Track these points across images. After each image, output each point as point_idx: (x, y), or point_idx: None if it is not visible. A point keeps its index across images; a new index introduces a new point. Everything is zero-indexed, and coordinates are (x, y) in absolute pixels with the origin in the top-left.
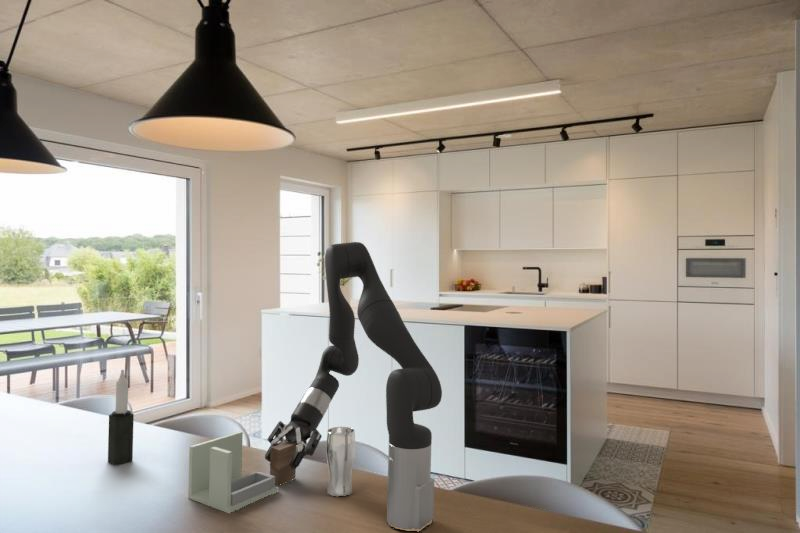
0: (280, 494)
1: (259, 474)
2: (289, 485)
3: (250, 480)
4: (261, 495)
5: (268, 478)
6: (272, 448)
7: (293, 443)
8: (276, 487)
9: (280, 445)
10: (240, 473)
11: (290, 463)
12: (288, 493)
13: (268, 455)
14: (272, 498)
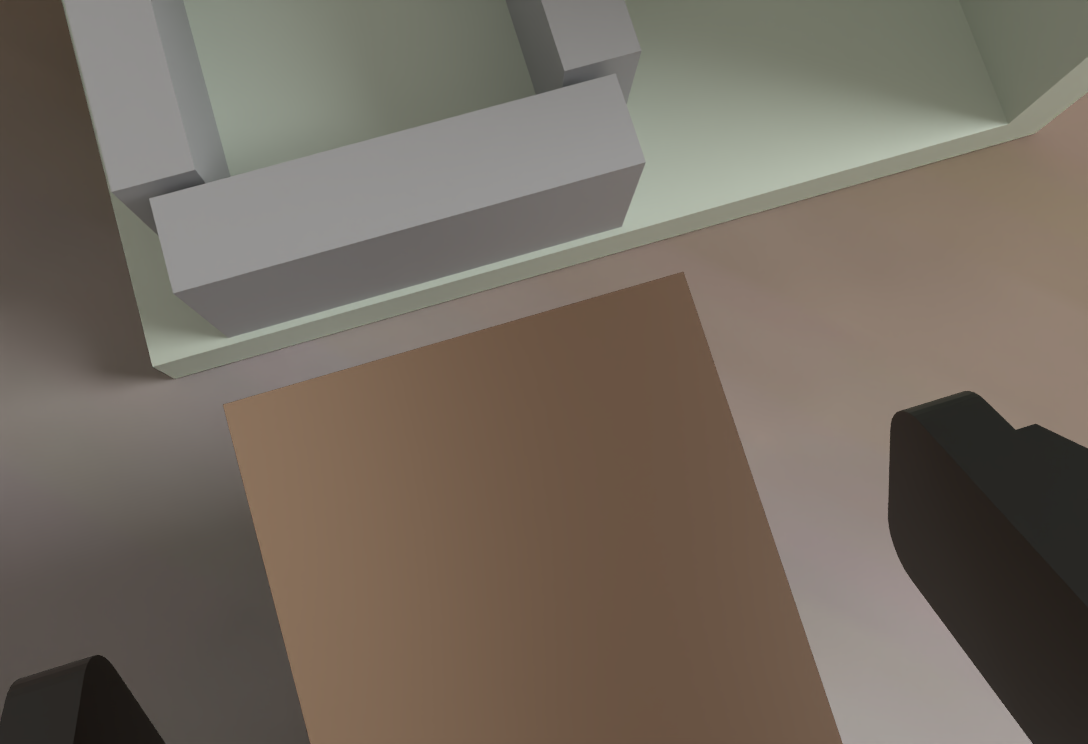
0: (65, 355)
1: (485, 111)
2: None
3: (522, 3)
4: (66, 15)
5: (159, 134)
6: (588, 301)
7: None
8: (180, 340)
9: (708, 721)
10: (1020, 84)
11: (61, 680)
12: (13, 477)
13: (935, 459)
14: (15, 187)
